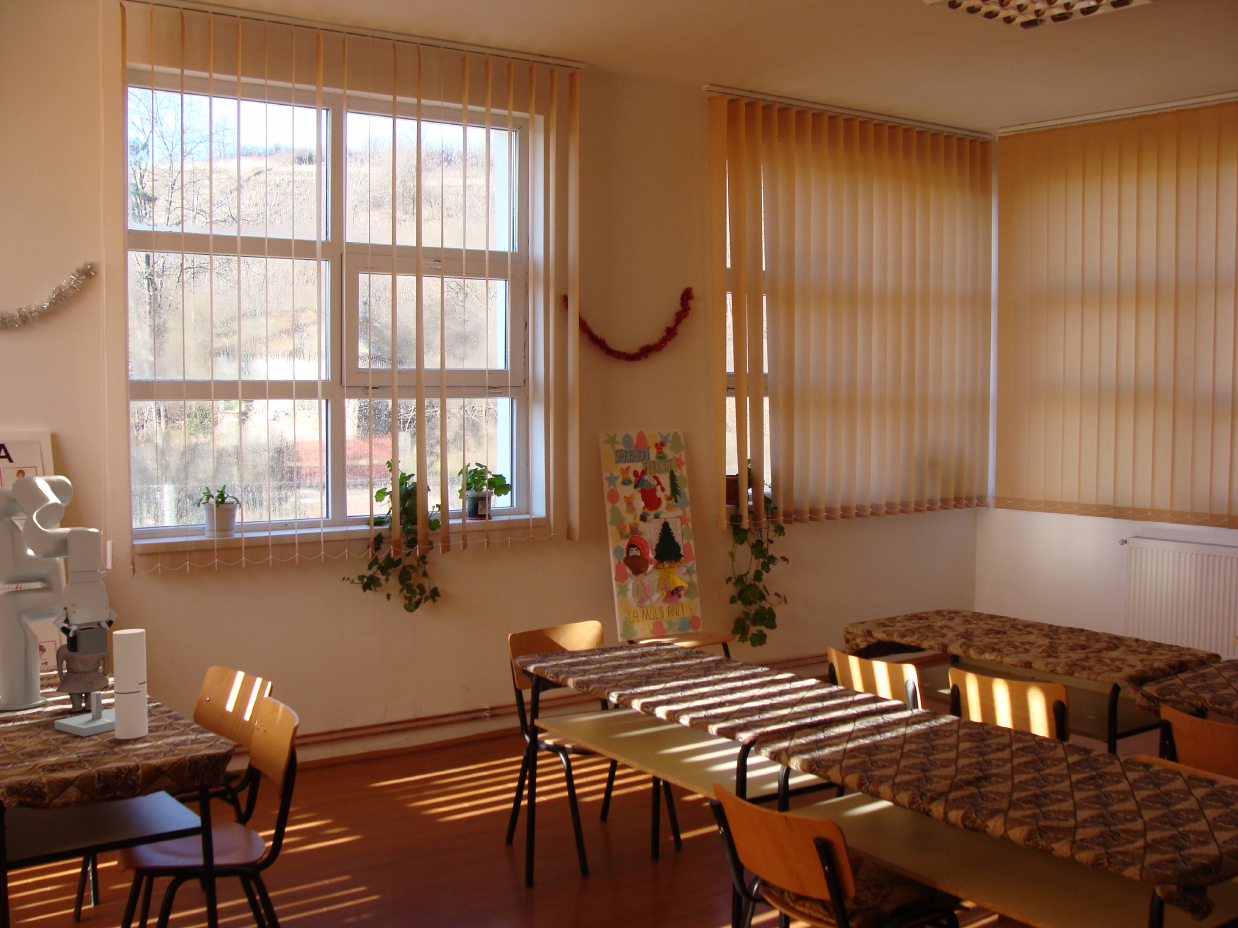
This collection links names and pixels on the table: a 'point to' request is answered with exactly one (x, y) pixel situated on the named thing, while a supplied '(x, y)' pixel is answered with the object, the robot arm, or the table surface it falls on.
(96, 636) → the square tunnel housing
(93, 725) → the shaft base
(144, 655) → the cylindrical container
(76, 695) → the clay figurine
